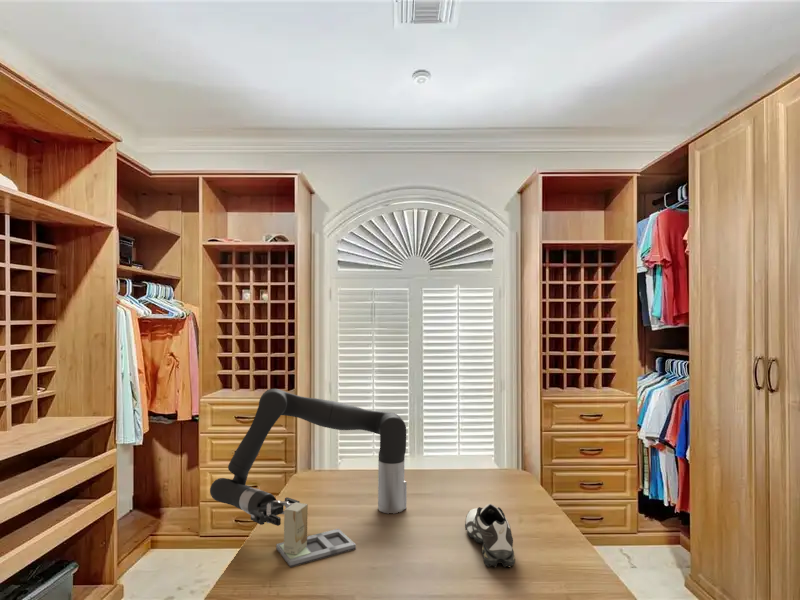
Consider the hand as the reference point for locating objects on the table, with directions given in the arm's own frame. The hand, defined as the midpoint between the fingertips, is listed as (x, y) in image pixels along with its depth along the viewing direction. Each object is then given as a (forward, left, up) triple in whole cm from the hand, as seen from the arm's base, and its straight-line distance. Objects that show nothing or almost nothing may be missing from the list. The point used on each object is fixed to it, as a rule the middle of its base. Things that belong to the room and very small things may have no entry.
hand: (291, 517), depth 146 cm
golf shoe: (-53, +26, -11) cm, 60 cm away
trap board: (-7, +1, -10) cm, 13 cm away
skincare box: (-1, +2, -9) cm, 9 cm away
